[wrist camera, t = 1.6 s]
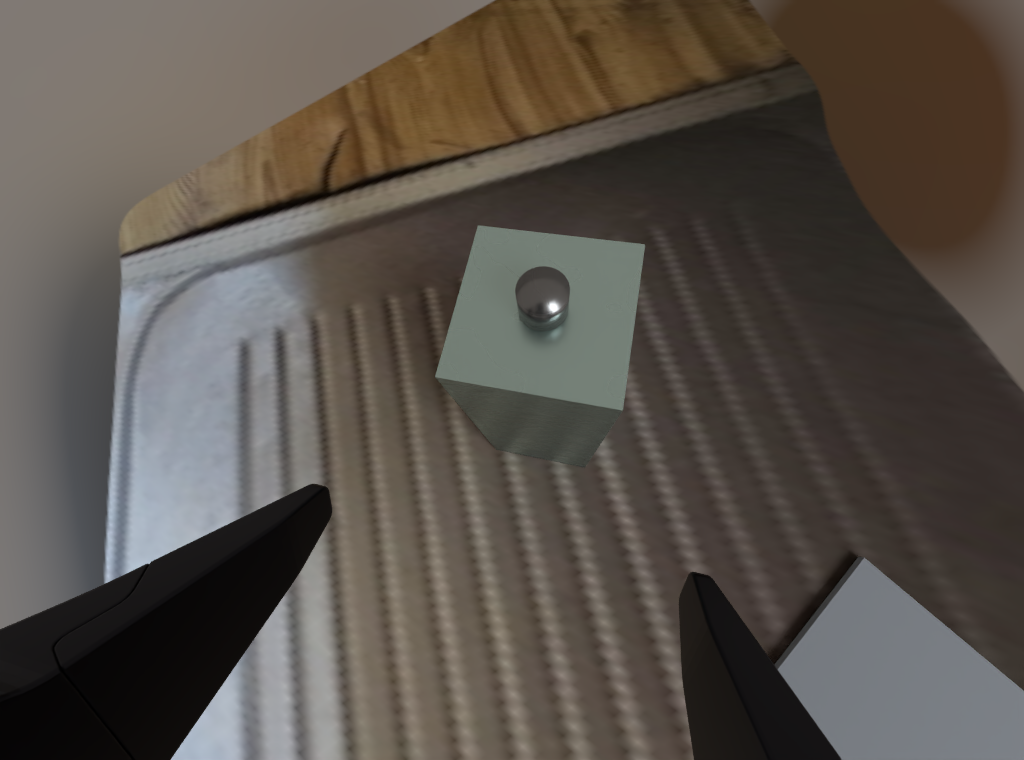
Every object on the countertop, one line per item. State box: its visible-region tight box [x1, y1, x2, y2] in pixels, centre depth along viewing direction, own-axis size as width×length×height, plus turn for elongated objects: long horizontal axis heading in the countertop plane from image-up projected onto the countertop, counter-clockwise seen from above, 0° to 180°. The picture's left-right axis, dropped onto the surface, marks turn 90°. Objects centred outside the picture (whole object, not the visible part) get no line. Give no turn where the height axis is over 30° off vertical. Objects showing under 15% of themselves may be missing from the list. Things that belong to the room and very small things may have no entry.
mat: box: [775, 557, 1024, 760], centre depth 17 cm, size 9×9×1 cm
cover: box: [435, 226, 645, 467], centre depth 17 cm, size 5×5×14 cm
